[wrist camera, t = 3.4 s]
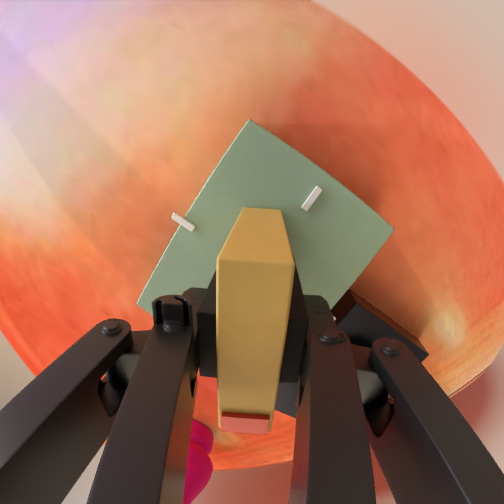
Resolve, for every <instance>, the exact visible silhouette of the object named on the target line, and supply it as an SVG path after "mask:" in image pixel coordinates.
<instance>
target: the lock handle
mask: <svg viewBox="0 0 504 504" xmlns="http://www.w3.org/2000/svg"><path fill="white" fill-rule="evenodd" d="M294 271H295V262H294V258H293V254H292V250H291V246H290V242H289V238H288V234H287V231H286V227H285V223H284V219H283V215H282V212H281V210H278V209H264V208H248V207H244V208H243V209H242V211H241V213H240V215H239V217H238V219H237V221H236V223H235V224H234V226H233V228H232V230H231V232H230V234H229V236H228V238H227V240H226V242H225V244H224V246H223V248H222V250H221V251H220V253H219V255H218V257H217V265H216V348H217V394H218V423H219V428H221V430H222V431H226V432H236V433H248V434H264V435H267V432H270V430H271V426H272V421H273V415H274V410H275V404H276V398H277V392H278V386H279V380H280V374H281V367H282V361H283V354H284V347H285V341H286V334H287V326H288V319H289V312H290V304H291V296H292V288H293V279H294Z"/></svg>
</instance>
